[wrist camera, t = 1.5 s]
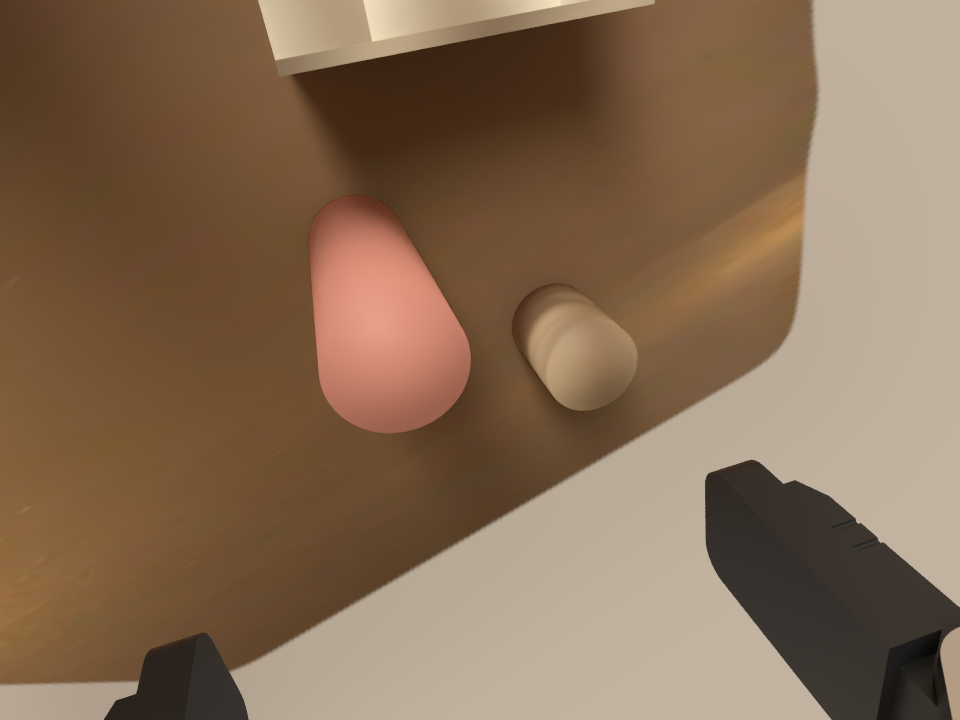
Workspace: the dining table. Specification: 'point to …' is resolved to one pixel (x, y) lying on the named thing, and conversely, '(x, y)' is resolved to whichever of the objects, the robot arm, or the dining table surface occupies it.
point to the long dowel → (381, 321)
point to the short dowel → (574, 347)
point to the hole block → (403, 25)
